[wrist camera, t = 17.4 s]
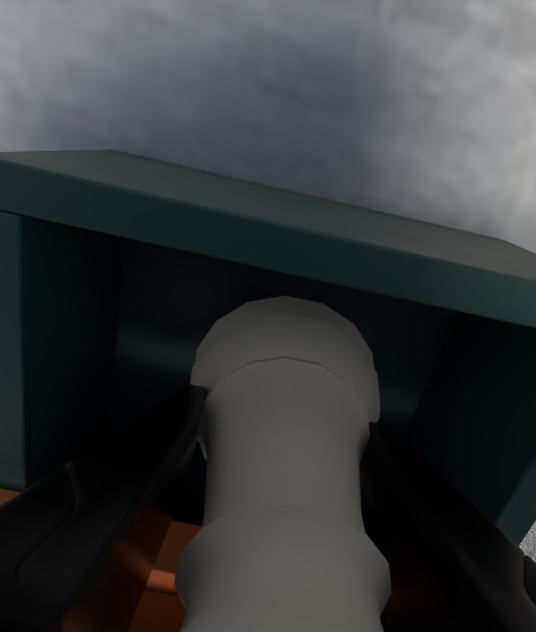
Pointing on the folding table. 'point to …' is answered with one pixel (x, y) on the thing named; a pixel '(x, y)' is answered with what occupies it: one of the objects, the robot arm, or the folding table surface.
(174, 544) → the bin lid
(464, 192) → the folding table surface
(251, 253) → the bin
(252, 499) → the rook chess piece
